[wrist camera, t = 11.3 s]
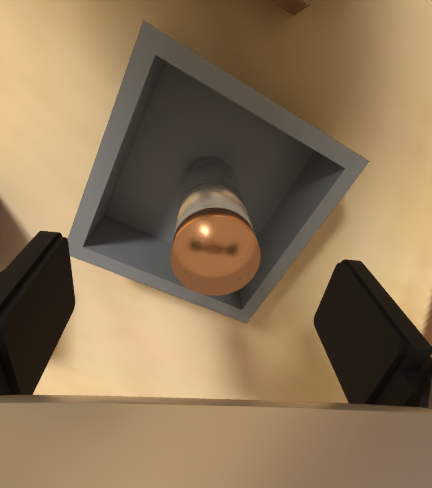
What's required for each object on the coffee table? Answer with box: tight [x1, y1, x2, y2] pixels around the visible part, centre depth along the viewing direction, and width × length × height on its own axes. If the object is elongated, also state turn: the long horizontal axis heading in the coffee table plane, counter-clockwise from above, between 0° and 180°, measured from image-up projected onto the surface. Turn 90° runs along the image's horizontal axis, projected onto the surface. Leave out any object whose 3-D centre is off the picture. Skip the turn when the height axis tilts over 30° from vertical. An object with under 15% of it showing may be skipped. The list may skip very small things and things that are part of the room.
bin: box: [67, 21, 370, 323], centre depth 21 cm, size 14×14×6 cm
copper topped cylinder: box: [170, 157, 261, 296], centre depth 18 cm, size 4×4×11 cm
